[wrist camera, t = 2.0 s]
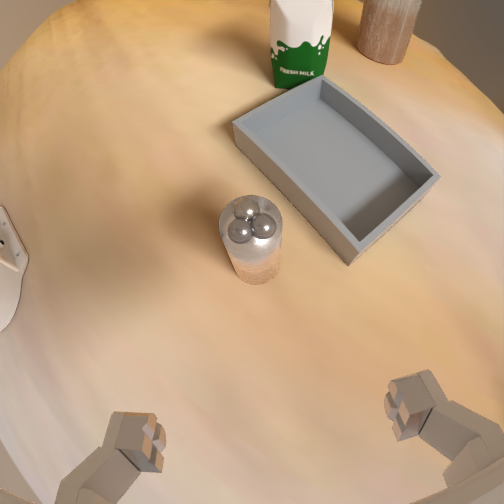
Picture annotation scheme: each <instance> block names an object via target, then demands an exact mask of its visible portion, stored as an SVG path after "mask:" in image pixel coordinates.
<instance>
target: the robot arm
mask: <svg viewBox="0 0 504 504" xmlns="http://www.w3.org/2000/svg"><path fill="white" fill-rule="evenodd" d="M27 263H28V254H27V252H26V250H25V248H24V246H23V244H22V242H21V241H20V239H19V237H18V235H17V233H16V231H15V229H14V227H13V225H12V223H11V221H10V218H9V216H8V214H7V212H6V210H5V208H3V207H1V206H0V331H2V330H3V329H4V328H5V327H6V326H7V325H8V324H9V322H10V321H11V319H12V317H13V315H14V313H15V311H16V308H17V305H18V301H19V297H20V291H21V282H22V277H23V274H24V271H25V269H26V266H27ZM388 389H389V392H388V393H387V394H386V395H385V400H384V405H385V411H386V414H387V417H388V418H389V419H390V420H392V421H394V423H393V426H392V429H393V432H394V434H395V437H396V439H397V442H399V441H402V440H405V439H408V438H411V437H414V436H417V435H419V437H420V438H421V439H423V440H424V441H425V442H427V443H428V444H429V445H431V446H432V447H433V448H435V449H436V450H437V451H439V452H440V453H441V454H443V455H444V456H445V457H447V458H448V459H449V460H451V461H452V462H451V464H450V465H449V466H448V467H447V468H446V469H445V470H444V472H443V476H444V479H445V481H446V484H447V487H448V488H446V489H444V490H442V491H439V492H437V493H435V494H433V495H430V496H428V497H426V498H423V499H421V500H418V501H416V502H413V503H410V504H504V433H503V431H502V429H501V428H500V426H499V424H497V423H495V422H493V421H491V420H489V419H487V418H485V417H483V416H481V415H479V414H477V413H475V412H474V411H472V410H470V409H468V408H466V407H464V406H462V405H460V404H458V403H456V402H455V401H453V400H451V401H448V399H447V397H446V395H445V394H444V392H443V390H442V389H441V387H440V385H439V384H438V382H437V380H436V379H435V377H434V375H433V374H432V372H431V371H430V370H429V369H427V370H423V371H421V372H418V373H413V374H410V375H407V376H404V377H401V378H398V379H394V380H391V381H390V382H389V384H388ZM156 421H157V417H156V416H155V415H154V413H134V412H115V411H114V412H113V414H112V415H111V418H110V421H109V424H108V428H107V431H106V435H105V438H104V442H103V445H102V447H98V448H97V449H96V450H95V451H94V452H93V453H92V454H90V455H89V456H88V457H87V458H86V459H85V460H84V461H83V462H82V463H81V464H80V465H78V466H77V467H76V468H75V469H74V470H73V471H72V472H71V473H70V474H68V475H67V476H66V477H65V478H64V479H63V480H62V481H61V482H60V486H59V489H58V493H57V496H56V500H55V504H116V503H117V502H118V501H119V500H120V498H121V497H122V496H123V495H124V494H125V492H126V491H127V490H128V489H129V487H130V486H131V485H132V484H133V482H134V481H135V480H136V479H137V477H138V476H139V475H140V473H141V472H156V473H162V468H163V460H164V457H163V456H162V454H161V452H162V451H163V450H164V448H165V446H166V434H165V431H164V428H163V427H162V425H161V424H159V423H157V422H156ZM0 504H37V503H34V502H32V501H29V500H27V499H25V498H22V497H20V496H18V495H15V494H13V493H11V492H9V491H7V490H5V489H3V488H1V487H0Z"/></svg>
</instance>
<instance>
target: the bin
mask: <svg viewBox="0 0 504 504" xmlns="http://www.w3.org/2000/svg"><path fill="white" fill-rule="evenodd" d="M232 126H233V132H234V138H235V144H236V146H237V147H238V148H239V149H240V150H241V151H242V152H243V153H244V154H245V155H246V156H247V157H248V158H249V159H250V160H251V161H252V162H253V163H254V164H255V165H256V166H257V167H258V168H259V170H260V171H261V172H262V173H263V174H264V175H265V176H266V177H267V178H268V179H269V180H270V181H271V182H272V183H273V184H274V185H275V186H276V187H277V188H278V189H279V190H280V191H281V192H282V193H283V195H284V196H285V197H286V198H287V199H288V200H289V201H290V202H291V203H292V204H293V205H294V206H295V207H296V208H297V210H298V211H299V212H300V213H301V214H302V215H303V216H304V217H305V218H306V219H307V220H308V222H309V223H310V224H311V225H312V226H313V227H314V228H315V229H316V230H317V231H318V233H319V234H320V235H321V236H322V237H323V238H324V239H325V240H326V242H327V243H328V244H329V245H330V246H331V247H332V248H333V249H334V251H335V252H336V253H337V254H338V255H339V256H340V257H341V259H342V260H343V261H344V262H345V263H346V264H347V266H349V265H350V264H351V263H353V262H354V261H355V260H356V259H357V258H358V257H359V256H361V255H362V254H363V253H364V252H365V251H366V250H367V249H368V248H370V247H371V246H372V245H373V244H374V243H375V242H376V241H377V240H379V239H380V238H381V237H382V236H383V235H384V234H385V233H386V232H387V231H388V230H389V229H391V228H392V227H393V226H394V225H395V224H396V223H397V222H398V221H399V220H400V219H401V218H402V217H403V216H404V215H406V214H407V213H408V212H409V211H410V210H411V209H412V208H413V207H414V206H415V205H416V204H417V203H418V202H419V201H420V200H421V199H422V198H423V197H424V196H425V195H426V194H427V193H428V192H429V191H430V189H431V188H432V187H433V186H434V184H435V183H436V182H437V181H438V179H439V178H440V177H441V176H440V175H439V174H438V173H437V172H436V171H435V170H434V169H433V168H432V167H431V166H430V165H429V164H428V163H427V162H426V161H425V160H424V159H423V158H422V157H421V156H420V155H419V154H418V153H417V152H416V151H415V150H414V149H413V148H412V147H411V146H410V145H409V144H408V143H406V142H405V141H404V140H403V139H402V138H401V137H400V136H399V135H398V134H397V133H395V132H394V131H393V130H392V129H391V128H390V127H389V126H388V125H386V124H385V123H384V122H383V121H382V120H381V119H379V118H378V117H377V116H376V115H375V114H373V113H372V112H371V111H370V110H368V109H367V108H366V107H365V106H363V105H362V104H361V103H360V102H358V101H357V100H356V99H355V98H353V97H352V96H351V95H349V94H348V93H347V92H345V91H344V90H343V89H341V88H340V87H339V86H337V85H336V84H334V83H333V82H332V81H330V80H329V79H327V78H326V77H325V76H323V75H321V76H318V77H316V78H314V79H312V80H310V81H308V82H306V83H304V84H302V85H300V86H297V87H295V88H293V89H291V90H289V91H287V92H285V93H284V94H282V95H280V96H278V97H276V98H274V99H272V100H270V101H268V102H266V103H264V104H263V105H261V106H259V107H257V108H255V109H253V110H252V111H250V112H248V113H246V114H244V115H243V116H241V117H239V118H237V119H236V120H234V121H232Z"/></svg>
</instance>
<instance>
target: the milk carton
mask: <svg viewBox="0 0 504 504" xmlns="http://www.w3.org/2000/svg"><path fill="white" fill-rule="evenodd" d="M270 2H271V6H270ZM269 7H270V47H271V61H272V67H273V73H274V81H275V88H285V89H293V88H295V87H297V86H300V85H302V84H304V83H306V82H308V81H310V80H312V79H314V78H316V77H318V76H321V75H323V73H324V70H325V66H326V62H327V57H328V50H329V43H330V35H331V28H332V10H333V13H334V3H333V0H269Z"/></svg>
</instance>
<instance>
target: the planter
mask: <svg viewBox="0 0 504 504" xmlns="http://www.w3.org/2000/svg"><path fill="white" fill-rule="evenodd" d="M421 2H422V0H364V5H363V10H362V16H361V21H360V26H359V31H358V37H357V43H356V46H357V48H358V50H359V51H360V52H361V53H362V54H363V55H365V56H366V57H368V58H370V59H372V60H374V61H376V62H379V63H383V64H389V65H395V64H399V63H401V62H402V60H403V58H404V56H405V53H406V50H407V47H408V44H409V41H410V38H411V35H412V32H413V28H414V25H415V22H416V18H417V16H418V13H419V9H420V6H421Z"/></svg>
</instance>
